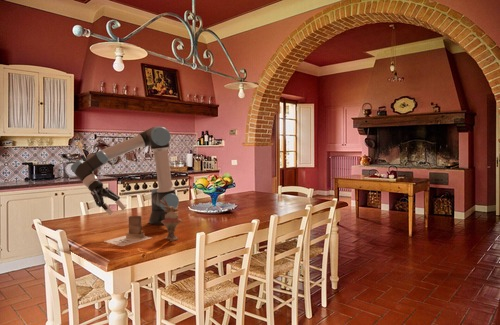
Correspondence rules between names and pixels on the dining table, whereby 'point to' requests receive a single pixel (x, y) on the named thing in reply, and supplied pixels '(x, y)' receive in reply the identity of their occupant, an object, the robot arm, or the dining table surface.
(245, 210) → the dining table surface
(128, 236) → the block
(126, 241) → the marked board
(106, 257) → the dining table surface
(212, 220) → the dining table surface
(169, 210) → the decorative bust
